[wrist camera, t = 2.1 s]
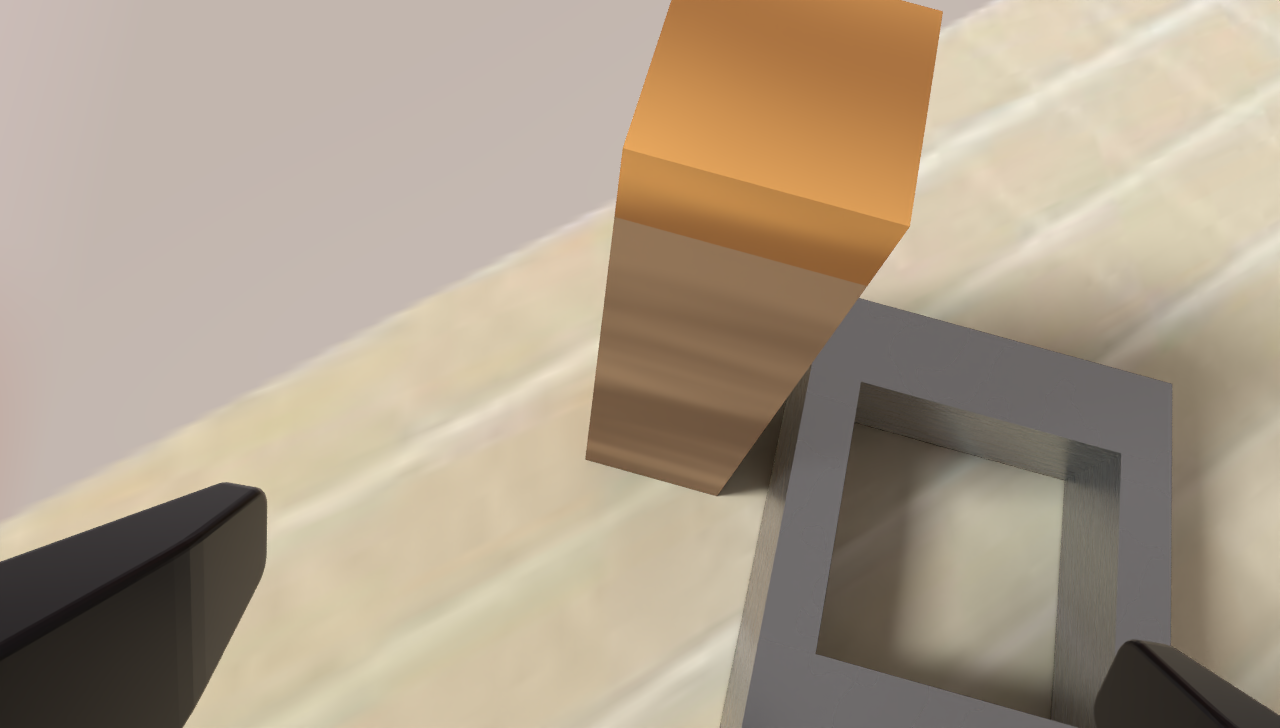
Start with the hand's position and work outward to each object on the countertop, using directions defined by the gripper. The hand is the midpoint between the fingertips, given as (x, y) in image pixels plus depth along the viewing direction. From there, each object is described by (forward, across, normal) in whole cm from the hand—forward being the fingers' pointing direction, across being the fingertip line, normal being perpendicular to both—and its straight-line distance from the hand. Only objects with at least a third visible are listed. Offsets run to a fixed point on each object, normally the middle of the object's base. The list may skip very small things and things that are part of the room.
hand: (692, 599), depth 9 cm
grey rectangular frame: (+11, -8, +6) cm, 15 cm away
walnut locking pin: (+13, 0, +4) cm, 14 cm away
